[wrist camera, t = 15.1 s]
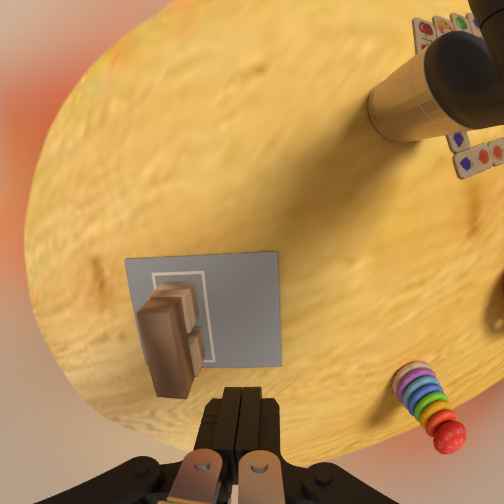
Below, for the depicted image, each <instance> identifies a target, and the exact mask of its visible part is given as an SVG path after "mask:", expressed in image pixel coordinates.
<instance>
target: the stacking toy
mask: <svg viewBox="0 0 504 504" xmlns="http://www.w3.org/2000/svg"><path fill="white" fill-rule="evenodd" d="M392 389H393V392H394V394H395V395H396V396H397V397H398V399H399V400H400V401H401V402H402V403H403V405H404V406H405V408H406V409H408V411H409V413H410V414H411V415H413V416H415V419H416V420H417V421H418V422H420V425H421V426H422V427H423V428H424V429H426V432H427V434H428V435H429V436H430V437H434V439H433V443H434V447H435V449H436V450H437V451H438V452H440V453H441V454H452V453H454V452H456V451H457V450H459V449H460V448H461V447H462V445H463V444H464V442H465V440H466V429H465V427H464V426H463V425H462V424H461V423H459V422H457V421H456V415H455V413H454V412H453V411H452V410H451V404H450V403H449V402H448V398H447V396H446V395H445V394H444V392H443V389H442V387H441V386H440V383H439V381H438V380H437V379H436V375H435V373H434V372H433V370H432V368H431V366H430V365H429V364H428V363H426V362H424V361H415V362H412V363H409V364H407V365H406V366H404V367H403V368H402V369H400V370H399V372H398V373H397V374H396V376H395V377H394V380H393V383H392Z"/></svg>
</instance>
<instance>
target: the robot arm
mask: <svg viewBox="0 0 504 504" xmlns="http://www.w3.org/2000/svg"><path fill="white" fill-rule="evenodd" d="M468 2H469V6H470V9H471V11H472V13H473V16H474V18H475V21H476V23H477V25H478V27H479V29H480V31H481V33H482V36H483V38H484V40H485V41H483V40H482V39H480V38H479V37H477V36H475V35H473V34H471V33H468V32H464V31H451V32H447V33H445V34H443V35H441V36H440V37H438V38H437V39H436V40H434V41H433V42H432V43H430V44H429V45H428V46H427V47H425V48H424V49H423V50H421V51H420V52H419V53H418V54H416V55H415V56H414V57H412V58H411V59H410V60H409V61H407V62H406V63H405V64H403V65H402V66H401V67H400V68H398V69H397V70H396V71H394V72H393V73H392V74H391V75H389V76H388V77H387V78H386V79H384V80H383V81H382V82H381V83H379V84H378V85H377V86H376V87H375V88H374V89H373V90H372V91H371V94H370V96H369V99H368V113H369V117H370V119H371V122H372V123H373V125H374V127H375V128H376V129H377V130H378V132H379V133H380V134H381V135H383V136H384V137H385V138H387V139H389V140H391V141H394V142H397V143H407V142H412V141H417V140H423V139H428V138H433V137H438V136H444V135H449V134H455V133H460V132H465V131H471V130H477V129H483V128H488V127H493V126H498V125H504V0H468ZM232 485H239V487H238V504H399V503H397V502H395V501H394V500H392V499H390V498H388V497H387V496H385V495H383V494H382V493H380V492H378V491H377V490H375V489H373V488H372V487H370V486H368V485H367V484H365V483H364V482H362V481H360V480H359V479H357V478H356V477H354V476H353V475H351V474H350V473H348V472H347V471H345V470H344V469H342V468H340V467H339V466H337V465H335V464H333V463H327V462H322V463H317V464H314V465H312V466H310V467H309V468H302V467H297V466H294V465H291V464H289V463H287V462H286V461H285V460H284V459H283V457H282V456H281V453H280V414H279V405H278V403H277V402H276V400H275V399H274V398H262V389H261V387H244V388H243V387H225V388H224V393H223V397H222V399H216V398H212V400H211V401H210V402H209V403H208V404H207V405H206V406H205V410H204V413H203V417H202V420H201V424H200V428H199V431H198V435H197V439H196V442H195V446H194V449H193V451H191V452H190V453H188V454H187V455H186V456H185V457H184V459H183V460H182V461H180V462H176V463H170V464H162V465H159V463H158V462H157V461H156V460H155V459H153V458H151V457H147V456H138V457H135V458H132V459H130V460H128V461H126V462H124V463H123V464H121V465H119V466H117V467H115V468H113V469H111V470H109V471H107V472H105V473H103V474H101V475H99V476H97V477H95V478H93V479H91V480H89V481H86V482H84V483H82V484H80V485H78V486H75V487H73V488H71V489H69V490H66V491H64V492H62V493H59V494H57V495H55V496H52V497H50V498H47V499H45V500H42V501H39V502H37V503H34V504H230V503H231V493H232Z"/></svg>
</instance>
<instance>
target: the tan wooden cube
mask: <svg viewBox="0 0 504 504" xmlns="http://www.w3.org/2000/svg"><path fill="white" fill-rule="evenodd" d="M151 297H181V298H182V305H183V312H184V318H185V324H186V330H187V333H190V332H191V330H192V328H193V326H194V324H195V322H196V320H197V318H198V316H199V314H200V312H199V305H198V297H197V289H196V281H177V282H161V283H160V284H159V286H158V287H157V288H156V289H155V290H154V291H153V292H152V293H151V294H150V295H149V296H148V297H147V299H148V300H149V299H150V298H151Z"/></svg>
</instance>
